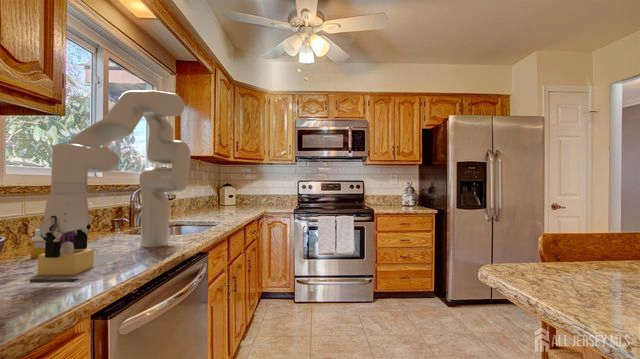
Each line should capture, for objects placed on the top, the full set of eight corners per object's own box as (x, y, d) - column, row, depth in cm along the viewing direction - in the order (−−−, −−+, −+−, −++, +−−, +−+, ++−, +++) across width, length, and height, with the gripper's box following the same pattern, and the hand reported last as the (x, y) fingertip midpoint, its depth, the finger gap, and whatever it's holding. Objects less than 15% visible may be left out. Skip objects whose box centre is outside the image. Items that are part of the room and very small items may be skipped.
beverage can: (72, 254, 102) (73, 220, 102) (52, 254, 102) (54, 219, 103) (89, 250, 109) (90, 218, 110) (70, 249, 109) (71, 217, 110)
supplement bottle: (36, 257, 97) (37, 228, 97) (56, 256, 99) (57, 227, 99) (26, 261, 92) (27, 230, 92) (48, 260, 94) (49, 230, 94)
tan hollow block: (59, 267, 82) (59, 249, 82) (93, 266, 83) (93, 249, 83) (37, 274, 75) (38, 255, 75) (74, 274, 76) (75, 255, 76)
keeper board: (94, 258, 97) (95, 230, 97) (125, 258, 98) (126, 230, 98) (29, 282, 73) (31, 245, 74) (72, 282, 74) (73, 245, 74)
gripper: (78, 188, 88) (75, 246, 87) (25, 189, 70) (22, 261, 70) (104, 189, 88) (102, 246, 88) (59, 190, 71) (56, 261, 71)
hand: (67, 252), depth 79 cm, fingers open, 9 cm apart
